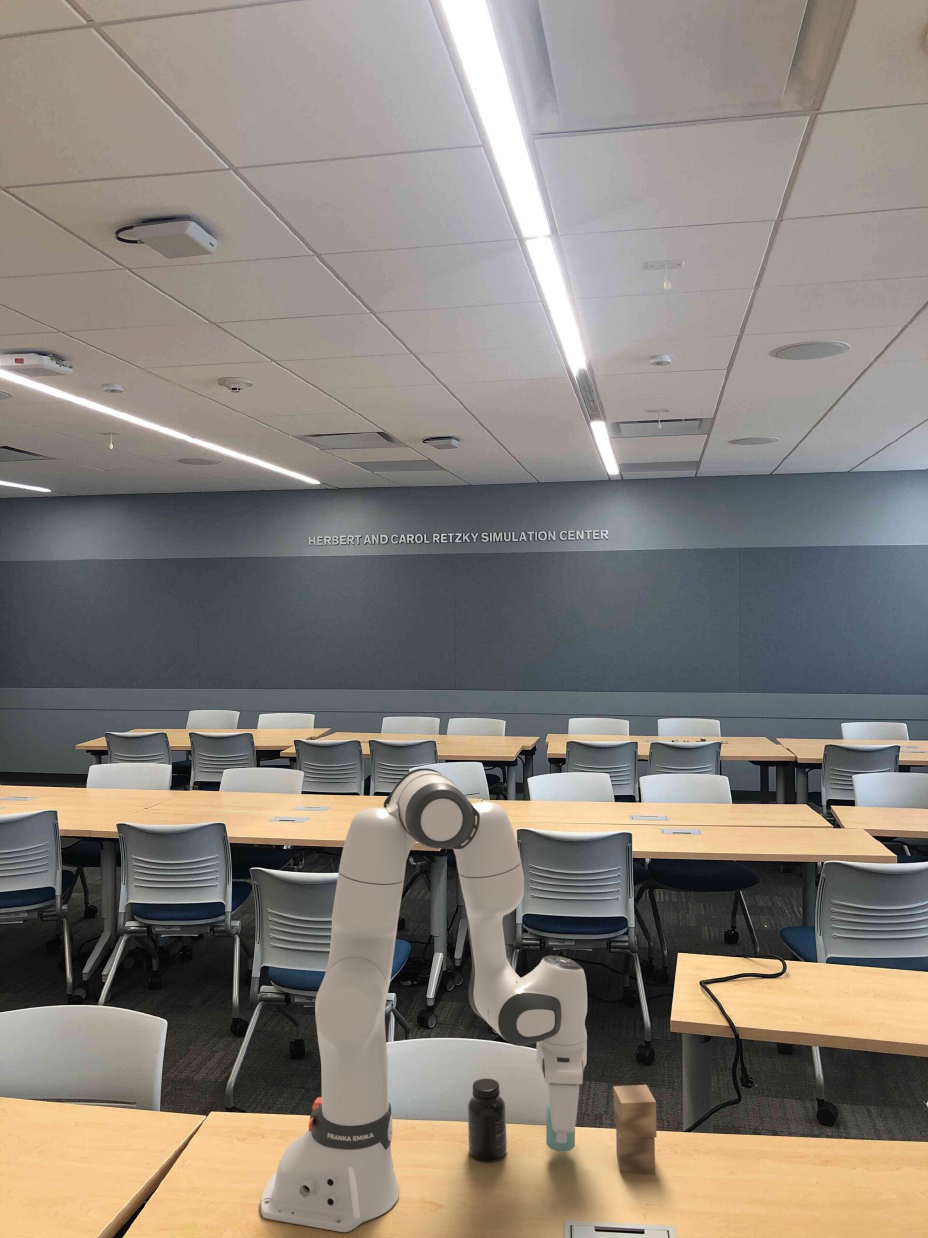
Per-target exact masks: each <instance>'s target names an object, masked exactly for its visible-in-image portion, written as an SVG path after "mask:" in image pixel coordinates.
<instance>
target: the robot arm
mask: <svg viewBox="0 0 928 1238" xmlns="http://www.w3.org/2000/svg"><path fill="white" fill-rule="evenodd" d="M416 843H419V844H420V845H422V846H424V847H427V848H431V849H436V850H437V849H438V850H439V849H440V850H441V849H444V850H445V849H447V850H448V849H449V850H453V853H454V855H455V861H456V867H457V872H458V878H459V882H460V888H461V892H462V896H463V900H464V905H465V906H464V907H465V911H466V913H465V914H466V922H467V931H468V939H469V946H470V954H471V962H472V963H471V973H470V979H469V984H468V993H467V994H468V995H467V996H468V1001H469V1005H470V1007H471V1009H472V1011H473V1012H474V1013H475V1014H476V1015H477V1016H478V1017H479V1018H481V1019H482V1020H483V1021H485V1022H486V1023H487V1024H488V1025H489V1026H490V1027H491V1028H492V1029H493V1030H494V1031H495V1032H496V1033H497V1034H498V1035H499V1036H500V1037H501V1038H503V1040H505V1041H506V1042H507V1043H509V1044H510V1045H513V1046H516V1047H523V1046H529V1045H532V1044H536V1062H537V1063H538V1065H539V1066H540V1069H541V1071H542V1074H543V1078H544V1082H545V1083H546V1085H547V1090H548V1098H549V1099H548V1101H549V1104H550V1111H551V1121H552V1128H553V1130H554V1131H555V1132H556V1141H557V1142H558V1143H566V1142H567V1133H572V1132H573V1131H574V1129H575V1130H576V1124H577V1114H578V1106H579V1094H580V1085H582V1084H583V1082H584V1070H585V1067H586V1065H587V1061H588V1060H587V1056H588V1054H587V1051H588V1050H587V1049H588V1046H587V1045H588V1043H587V1041H588V1035H587V1028H586V1025H585V1023H586V1018H587V1017H586V1016H587V1013H588V991H587V990H588V989H587V988H588V987H587V980H586V974H585V971H584V968H583V967H582V966H581V965H580V964H578V963H577V962H575V960H572V959H570V958H567V957H566V956H565V957H564V956H559V955H546V956H544V957H542V959H541V961H540V962H539V964H537V965H536V967H534V969H532V970H531V971H530V972H528V973H527V974H525V975H524V976H521V977H520V976H519V974H517V972H516V971H515V970H514V968H513V967H512V966H511V964H510V962H509V960H508V957H507V952H506V944H505V943H506V941H505V933H504V925H503V919H504V916H506V915H509V914H511V913H512V912H514V910H515V909H517V908H518V906H519V905H520V903H521V902H522V900H523V899H524V897H525V877H524V869H523V865H522V859H521V854H520V849H519V846H518V845H519V844H518V842H517V839H516V835H515V832H514V828H513V826H512V824H511V821H510V818H509V815H508V813H507V811H506V810H505V809H504V808H503V807H502V805H500V804H498V803H496V802H492V801H485V800H484V801H482V800H481V801H477V802H473V803H472V802H470V801H469V799H468V798H467V797H466V796H465V794H464V793H463V792H462V791H461V790H459V788H458V787H457V785H456V784H455V783H454V781H452V780H451V779H449V778H448V777H447V776H445V775H443V774H442V773H441V772H439V771H437V770H436V769H432V768H429V767H428V768H427V767H426V768H422V767H421V768H416V769H413V770H411V771H409V772H407V773H406V774H405V775H403V776H402V778H400V780H399V781H398V782H397V784H396V785H395V786H394V788H393V789H392V791H390V793H389V795H388V796H387V797H386V798H385V800H384V802H383V807H380V806H379V807H378V806H377V807H369V808H366V809H363V810H361V811H358V813H357V814H356V815H354V817H353V818H352V820H351V823H350V825H349V828H348V830H347V834H346V837H345V841H344V845H343V847H342V852H341V856H340V863H339V865H338V866H339V868H338V873H337V874H338V875H337V880H336V887H335V893H334V894H335V895H334V899H333V908H332V914H331V935H330V936H331V937H330V946H329V955H328V962H327V967H326V970H325V973H324V977H323V979H322V982H321V983H320V986H319V989H318V991H317V993H316V996H315V1006H314V1007H315V1008H314V1009H315V1010H314V1012H315V1013H314V1014H315V1023H316V1033H317V1042H318V1048H319V1049H318V1050H319V1055H320V1064H321V1068H320V1069H321V1096H319V1097H317V1098H316V1099H315V1100H314V1102H313V1104H312V1107H311V1108H312V1111H311V1113H310V1115H309V1121H308V1130H307V1131H305V1132H304V1133H303V1134H302V1135H300V1136H299V1137H298V1138H296V1139H295V1140H293V1141H292V1142H291V1143H290V1144H289V1145H288V1147H287V1148H286V1149H285V1151H284V1153H283V1155H281V1158H280V1160H279V1163H278V1167H277V1170H276V1171H275V1172H274V1173H273V1175H272V1176H271V1177H270V1178H269V1179H268V1181H267V1183H266V1184H265V1186H264V1189H263V1191H262V1195H261V1197H260V1204H259V1205H260V1206H259V1207H260V1213H261V1216H262V1217H263V1218H264V1219H268V1220H272V1221H276V1222H277V1221H278V1222H283V1223H289V1224H295V1225H300V1226H305V1227H312V1228H316V1229H317V1228H318V1229H322V1230H327V1231H329V1230H330V1231H335V1232H341V1233H348V1232H352V1230H354V1229H356V1228H357V1227H359V1226H360V1225H361V1224H362V1223H365V1222H367V1221H370V1220H373V1219H375V1218H377V1217H380V1216H381V1215H384V1214H385V1213H387V1212H389V1210H390V1209H392V1208H393V1207H394V1206H395V1204H396V1202H397V1201H398V1199H399V1196H400V1186H399V1184H398V1179H397V1175H396V1172H395V1169H394V1168H395V1167H394V1163H393V1162H394V1161H393V1155H392V1147H391V1144H392V1139H393V1115H392V1105H391V1103H390V1100H389V1097H390V1096H389V1057H388V1055H389V1054H388V1047H387V1038H386V1023H385V1021H386V1017H385V1015H386V1014H385V1013H386V1006H387V1005H386V1004H387V998H388V994H389V989H390V988H389V987H390V983H391V978H392V970H393V963H394V956H395V955H394V954H395V948H396V947H395V945H396V940H397V939H396V938H397V931H398V923H399V917H400V910H401V903H402V897H403V896H402V895H403V890H404V883H405V882H404V881H405V876H406V875H405V874H406V868H407V867H406V866H407V861H408V857H409V854H410V851H411V850H412V848H413V847H414V845H416Z"/></svg>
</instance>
